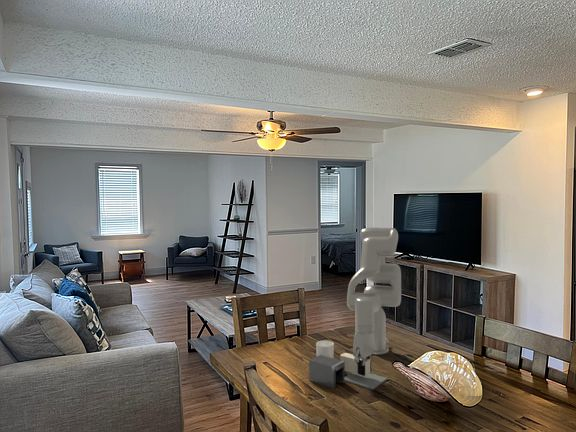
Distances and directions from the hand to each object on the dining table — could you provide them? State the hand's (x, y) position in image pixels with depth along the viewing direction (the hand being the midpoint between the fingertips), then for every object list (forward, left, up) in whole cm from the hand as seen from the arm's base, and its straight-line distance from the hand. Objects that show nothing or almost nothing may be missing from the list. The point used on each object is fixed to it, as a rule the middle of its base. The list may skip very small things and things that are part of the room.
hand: (364, 372), depth 177 cm
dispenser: (+11, -11, -3) cm, 16 cm away
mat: (0, 0, -3) cm, 3 cm away
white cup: (-2, -21, -4) cm, 21 cm away
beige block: (0, -5, -1) cm, 5 cm away
